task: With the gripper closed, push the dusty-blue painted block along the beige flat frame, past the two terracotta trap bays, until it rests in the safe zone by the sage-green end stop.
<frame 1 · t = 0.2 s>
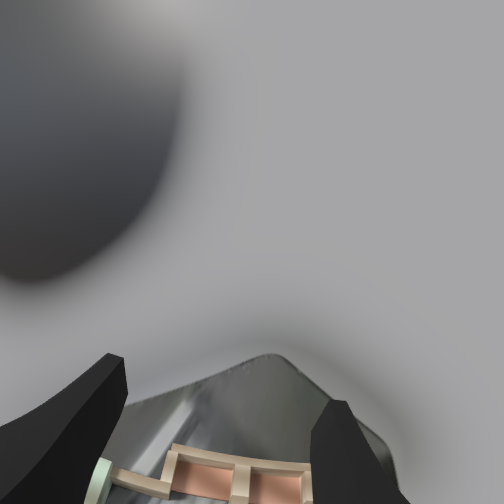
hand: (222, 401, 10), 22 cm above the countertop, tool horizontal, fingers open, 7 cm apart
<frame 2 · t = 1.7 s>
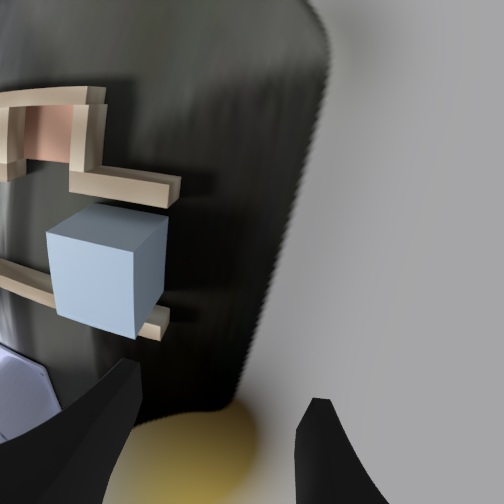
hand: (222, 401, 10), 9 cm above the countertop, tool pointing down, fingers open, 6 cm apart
beige flat frame: (24, 223, 19), on the countertop
block: (128, 247, 19), on the countertop
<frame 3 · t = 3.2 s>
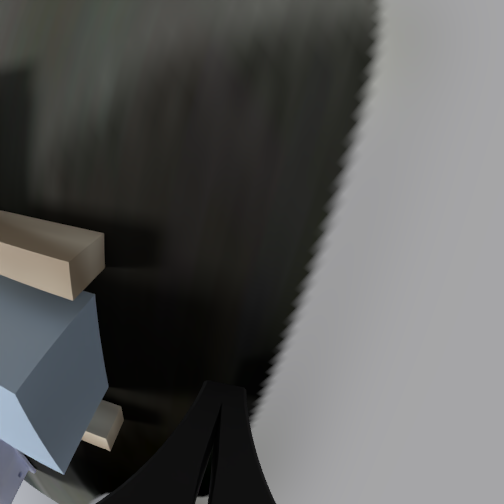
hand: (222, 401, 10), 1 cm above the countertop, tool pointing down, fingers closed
block: (52, 327, 11), on the countertop
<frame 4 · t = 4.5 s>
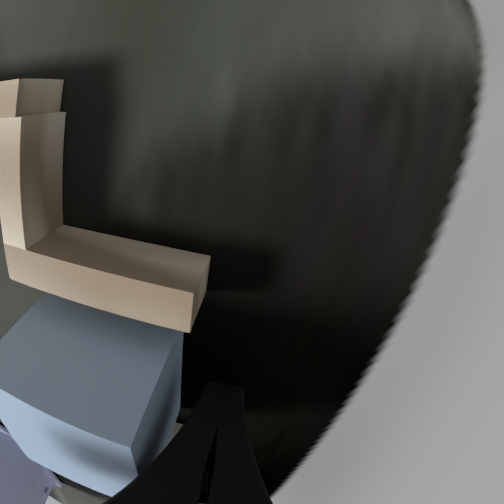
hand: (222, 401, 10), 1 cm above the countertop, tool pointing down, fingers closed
block: (119, 352, 11), on the countertop, touching gripper
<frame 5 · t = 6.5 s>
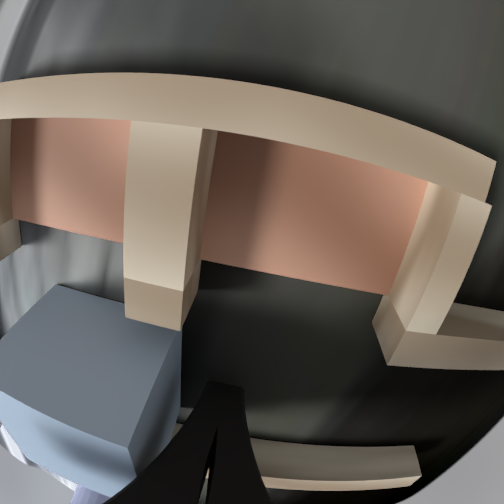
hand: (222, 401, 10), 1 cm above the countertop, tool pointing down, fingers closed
beige flat frame: (177, 370, 11), on the countertop
block: (118, 353, 11), on the countertop, touching gripper
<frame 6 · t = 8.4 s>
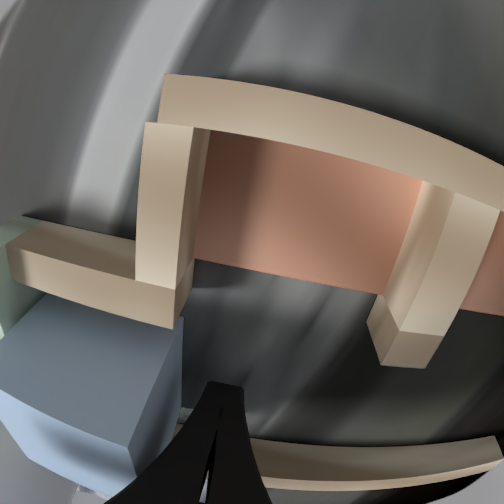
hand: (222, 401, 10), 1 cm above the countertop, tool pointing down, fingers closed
beige flat frame: (352, 398, 11), on the countertop
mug: (50, 422, 15), on the countertop
block: (120, 353, 11), on the countertop, touching gripper
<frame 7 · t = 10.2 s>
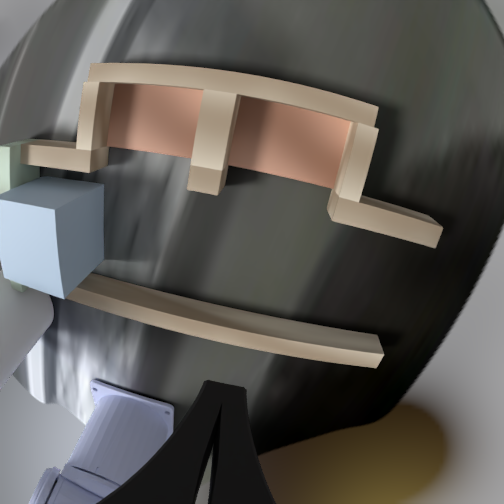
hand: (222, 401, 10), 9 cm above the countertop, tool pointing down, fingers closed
beige flat frame: (205, 247, 18), on the countertop
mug: (26, 307, 22), on the countertop
block: (72, 216, 18), on the countertop
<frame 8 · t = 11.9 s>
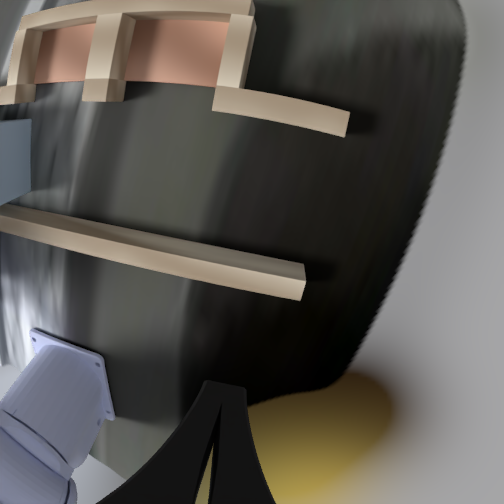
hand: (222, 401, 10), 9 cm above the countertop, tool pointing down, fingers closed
beige flat frame: (109, 164, 16), on the countertop
block: (8, 154, 17), on the countertop
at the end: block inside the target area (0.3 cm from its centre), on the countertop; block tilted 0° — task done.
